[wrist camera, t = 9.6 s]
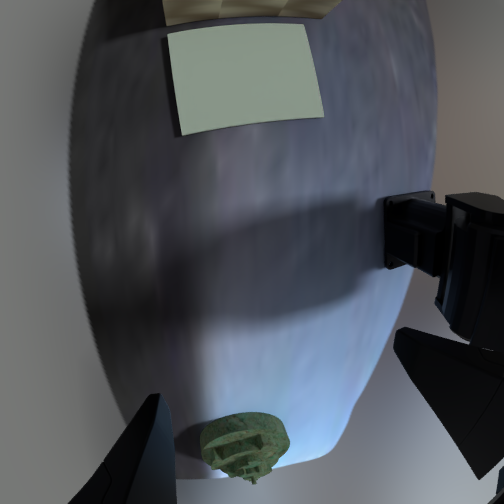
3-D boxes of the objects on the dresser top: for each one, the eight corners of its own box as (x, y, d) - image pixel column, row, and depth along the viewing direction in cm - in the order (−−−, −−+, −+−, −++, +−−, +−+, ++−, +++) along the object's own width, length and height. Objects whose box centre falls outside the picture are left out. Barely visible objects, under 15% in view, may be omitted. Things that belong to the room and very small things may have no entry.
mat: (301, 26, 15) (303, 24, 15) (321, 117, 18) (324, 116, 18) (167, 36, 14) (167, 34, 14) (182, 136, 17) (182, 135, 16)
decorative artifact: (210, 459, 28) (285, 445, 29) (217, 503, 21) (301, 486, 23) (189, 419, 24) (281, 402, 26) (193, 473, 18) (302, 452, 19)
